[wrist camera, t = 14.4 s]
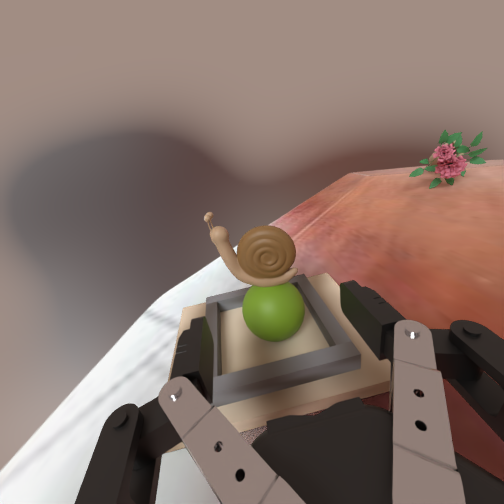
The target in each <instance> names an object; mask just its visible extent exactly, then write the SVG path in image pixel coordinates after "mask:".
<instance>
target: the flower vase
mask: <svg viewBox="0 0 504 504" xmlns="http://www.w3.org/2000/svg"><path fill="white" fill-rule="evenodd" d="M461 133H462V132H461ZM461 133H454V134H453V135H450V136H448V133H447V132H446V130H444V132H443V133H442V135H441V137H440V140H439V143H441V145H442V143H443V142H446V144H445V145H442V146H441V147H439V146H438V148H437V149H435V151H436V152H435V153H433V154H432V155H431V157H430V159H429V162H428V159H423V160H422V161H420V163H423V164H428V163H430V165H431V166H429V165H428V167H426V168H425V170H427V171H432V172H434V171H435V173H441V176H440V177H441V178H445V180H446V182H447V183H448V184H450V185H453V183H454V177H456V176H458V175H462V176H463V177H464V174H465V172H466V170H465V167H466V166H467V163H466V164H465V161H466V160H467V159H463V157H462V155H463V154H464V153H466V152H469V151H470V150H469V148H468V147H466V146H463V145H461V143H462V137H461ZM481 139H482V132H481V133H480V134H479V135H478V136H476V138H475V139H474V141H473V142H472V143H471V146H477V145H478V144H479V143H480V141H481ZM455 140H456V141H455ZM486 149H487V148H485V149H479V150H476V151H473V152H471V153H470V154H469V156H470V157H473V158H472V159H470V163H472V164H483V163H486V162H485V161H484V160H483V159H482V158H480V157H477V155H479V154H481V153H482V152H483V151H485V150H486ZM423 171H424V170H423V169H422V168H418V169H416V170H415V171H413V172H412V173H411V174H410V176H409V177H415V176H418V175H421V174H423ZM441 182H442V181H441V180H440V179H439V178H435V179H434V180H433V181H432V183H431V184H430V188H433V187H436V186H437V185H438V184H440V183H441ZM430 188H429V189H430Z"/></svg>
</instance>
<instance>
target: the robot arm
mask: <svg viewBox="0 0 504 504" xmlns="http://www.w3.org/2000/svg"><path fill="white" fill-rule="evenodd" d="M340 305H341V309H342V312H343V314H344V315H345V316H346V318H347V319H348V320H349V322H350V323H351V324H352V326H353V327H354V328H355V330H356V331H357V332H358V333H359V335H360V336H361V337H362V339H363V340H364V341H365V343H366V344H367V345H368V347H369V348H370V349H371V351H372V352H373V353H374V354H375V356H376V357H377V358H378V360H379V361H381V360H384V359H388V360H389V361H390V362H391V366H390V391H389V410H386V409H383V408H380V407H377V406H373V405H364V404H363V402H362V400H361V399H360V397H356V398H352V399H348V400H344V401H340V402H337V403H335V404H333V405H332V406H330V407H329V408H327V409H326V410H324V411H322V412H321V413H319V414H317V415H315V416H308V415H288V416H284V417H280V418H276V419H272V420H269V421H266V423H267V429H268V430H266V431H264V432H263V433H262V434H260V435H259V436H258V437H257V438H256V439H255V440H254V442H253V443H252V444H251V445H250V444H249V443H248V442H247V441H246V440H245V439H244V437H243V436H242V435H241V434H240V433H239V432H238V431H237V430H236V428H235V427H234V426H233V425H232V424H231V423H230V422H229V421H228V419H227V418H226V417H225V416H224V415H223V414H222V413H221V412H220V410H219V409H218V408H217V407H216V406H214V405H213V406H211V405H210V404H211V403H213V369H214V341H213V336H212V333H211V331H210V328H209V325H208V322H207V319H206V317H205V316H202V317H198V318H194V319H191V323H190V329H187V330H184V331H183V332H182V334H181V335H180V337H179V339H178V343H177V348H176V354H175V357H174V362H173V367H172V371H171V376H170V380H169V381H168V382H167V383H166V384H165V385H164V386H163V388H162V389H161V391H160V393H159V396H158V397H156V398H155V399H153V400H152V401H150V402H148V403H146V404H145V405H143V406H141V407H139V408H138V407H137V406H136V405H135V404H125V405H123V406H121V407H119V408H118V409H116V410H115V411H114V412H113V413H112V414H111V415H110V416H109V417H108V419H107V420H106V422H105V423H104V426H103V428H102V431H101V433H100V436H99V439H98V442H97V444H96V447H95V450H94V452H93V455H92V458H91V461H90V463H89V466H88V469H87V471H86V474H85V477H84V480H83V482H82V485H81V488H80V490H79V493H78V496H77V499H76V501H75V504H155V501H156V494H157V486H158V479H159V472H160V465H161V457H162V454H164V453H166V452H167V451H169V450H170V449H172V448H173V447H175V446H176V445H178V444H179V443H181V442H183V444H184V446H185V447H186V449H187V450H188V452H189V454H190V455H191V457H192V458H193V460H194V462H195V463H196V465H197V466H198V468H199V469H200V471H201V473H202V474H203V476H204V477H205V479H206V481H207V482H208V484H209V486H210V487H211V489H212V490H213V492H214V494H215V495H216V497H217V498H218V500H219V502H220V503H221V504H504V482H503V481H502V480H500V479H499V478H497V477H495V476H494V475H492V474H491V473H489V472H487V471H486V470H484V469H483V468H481V467H479V466H478V465H476V464H475V463H473V462H471V461H470V460H468V459H466V458H465V457H463V456H462V455H460V454H458V453H457V452H455V451H454V449H453V443H452V436H451V430H450V424H449V417H448V411H447V405H446V399H445V392H444V386H443V380H442V379H447V380H448V382H449V383H450V384H451V385H452V386H453V387H454V388H455V389H456V390H457V391H458V392H459V394H460V395H461V396H462V397H463V398H464V399H465V400H466V401H467V402H468V403H469V404H470V406H471V407H472V408H473V409H474V410H475V411H476V412H477V413H478V414H479V415H480V416H481V418H482V419H483V420H484V421H485V422H486V423H487V424H488V425H489V426H490V427H491V428H492V430H493V431H494V432H495V433H496V434H497V435H498V436H499V437H500V438H501V439H502V440H503V442H504V340H503V339H502V338H500V337H499V336H498V335H496V334H495V333H493V332H492V331H491V330H489V329H488V328H486V327H485V326H483V325H481V324H478V323H475V322H472V321H467V320H458V321H454V322H453V323H451V326H450V329H428V328H427V327H426V326H425V325H423V324H421V323H419V322H416V321H413V320H406V319H405V318H404V317H403V316H402V315H401V314H400V313H399V312H398V311H396V310H395V309H394V308H393V307H392V306H391V305H390V304H389V303H388V302H386V301H385V300H384V299H383V298H381V296H380V295H379V294H378V293H376V292H375V291H374V290H372V289H370V288H368V287H366V286H365V287H361V286H360V285H359V284H358V283H357V282H356V281H354V280H352V281H348V282H344V283H341V284H340ZM484 371H485V372H486V373H487V374H488V375H489V376H490V377H489V376H488V375H487V374H486V373H485V372H484ZM494 380H495V381H496V382H497V383H498V384H499V385H500V386H499V385H498V384H497V383H496V382H495V381H494Z"/></svg>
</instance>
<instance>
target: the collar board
mask: <svg viewBox="0 0 504 504" xmlns="http://www.w3.org/2000/svg"><path fill="white" fill-rule="evenodd" d="M288 282H290V283H291V284H293V285H294V286H295V287H296V288H297V289H298V291H299V292H300V294H301V296H302V298H303V301H304V305H305V316H304V320H303V323H302V325H301V327H300V328H299V330H298V331H297V332H296V333H295V334H294V335H293V336H291V337H290V338H288V339H286V340H283V341H278V342H270V341H265V340H263V339H260V338H259V337H257V336H256V335H254V334H253V333H252V332H251V331H250V330H249V328H248V327H247V325H246V323H245V321H244V318H243V313H242V305H243V300H244V297H245V295H246V293H247V291H248V290H249V288H250V287H248V288H244V289H240V290H236V291H232V292H228V293H224V294H219V295H215V296H211V297H207V298H206V303H201V304H197V305H193V306H189V307H185V308H183V311H182V316H181V321H180V325H179V330H178V335H177V340H176V345H175V349H174V354H173V359H172V364H171V368H170V373H169V378H168V381H169V380H170V376H171V371H172V367H173V362H174V357H175V354H176V348H177V343H178V339H179V337H180V335H181V334H182V332H183V331H184V330H187V329H190V323H191V319H194V318H198V317H202V316H205V317H206V319H207V322H208V325H209V328H210V331H211V333H212V336H213V341H214V369H213V403H211V404H210V405H211V406H213V405H214V406H216V407H217V408H218V409H219V410H220V412H221V413H222V414H223V415H224V416H225V417H226V418H227V419H228V421H229V422H230V423H231V424H232V425H233V426H234V427H235V428H236V430H237V431H238V432H239V433H240V432H244V431H247V430H251V429H255V428H258V427H262V426H265V425H267V423H266V421H269V420H272V419H276V418H280V417H284V416H288V415H305V414H309V413H313V412H316V411H320V410H323V409H327V408H329V407H330V406H332V405H333V404H335V403H337V402H340V401H344V400H348V399H352V398H356V397H360V399H363V398H367V397H370V396H374V395H378V394H381V393H385V392H388V391H390V366H391V362H390V361H389V360H388V359H384V360H381V361H379V360H378V358H377V357H376V356H375V354H374V353H373V352H372V351H371V349H370V348H369V347H368V345H367V344H366V343H365V341H364V340H363V339H362V337H361V336H360V335H359V333H358V332H357V331H356V330H355V328H354V327H353V326H352V324H351V323H350V322H349V320H348V319H347V318H346V316H345V315H344V314H343V312H342V309H341V305H340V287H339V285H338V284H337V283H336V282H335V281H334V280H333V279H332V278H331V277H330V275H329V274H328V273H324V274H320V275H316V276H312V277H308V278H307V277H306V276H305V275H304V274H302V275H297V276H294V277H293V278H292V279H291V280H289V281H288ZM182 448H186V447H185V446H184V444H183V442H181V443H179V444H178V445H176V446H175V447H173V448H172V449H170V450H169V451H167V452H166V453H168V452H171V451H175V450H179V449H182Z"/></svg>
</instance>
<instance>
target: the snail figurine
mask: <svg viewBox="0 0 504 504" xmlns="http://www.w3.org/2000/svg"><path fill="white" fill-rule="evenodd" d="M212 218H213V214H212V213H211V212H208V213H207V214H206V215H205V216H204V220H205V221H206V222H208V226H209V221H210V222H211V219H212ZM211 225H212V222H211ZM212 228H213V229H212V230H211V229H210V227H209V229H210V237H211V239H212V242H213V243H214V244H215V245H216V247H217V249H218V251H219V253H220V255H221V257H222V259H223V261H224V263H225V264H226V266H227V267H228V269H229V270H230V272H231V273H232V274H233V275H234V276H235V277H236V278H237V279H238V280H240V281H242V282H244V283H247V284H251V285H252V286H251V287H250V288H249V290H248V291H247V293H246V295H245V297H244V300H243V305H242V313H243V318H244V321H245V323H246V325H247V327H248V328H249V330H250V331H251V332H252V333H253V334H254V335H256V336H257V337H259V338H260V339H263V340H265V341H270V342H278V341H283V340H286V339H288V338H290V337H291V336H293V335H294V334H295V333H296V332H297V331H298V330H299V328H300V327H301V325H302V323H303V320H304V316H305V305H304V301H303V298H302V296H301V294H300V292H299V291H298V289H297V288H296V287H295V286H294V285H293V284H291V283H290V282H288V281H289V280H291V279H292V278H293V277H294V276H295V274H296V273H297V272H298V269H297V268H290V267H291V266H292V264H293V262H294V260H295V256H296V249H295V245H294V242H293V240H292V239H291V237H290V236H289V235H288V234H287V233H286V232H285V231H283V230H282V229H280V228H277V227H274V226H259V227H255V228H253V229H251V230H249V231H248V232H247V233H246V234H245V235H244V236H243V237H242V238H241V240H240V242H239V244H238V247H237V255H236V253H235V251H234V250H233V248H232V246H231V244H230V242H229V234H228V231H227V230H226V229H225V228H224V227H221V226H217V227H213V225H212Z"/></svg>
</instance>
